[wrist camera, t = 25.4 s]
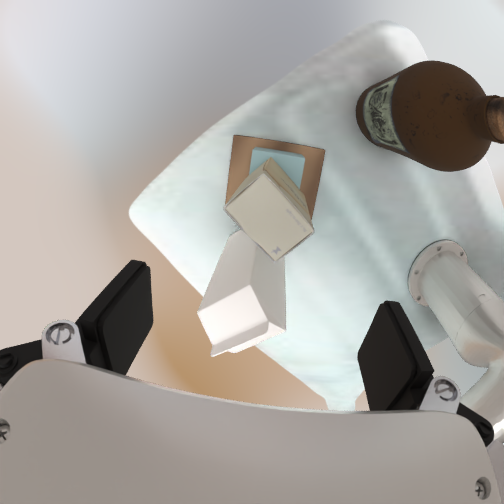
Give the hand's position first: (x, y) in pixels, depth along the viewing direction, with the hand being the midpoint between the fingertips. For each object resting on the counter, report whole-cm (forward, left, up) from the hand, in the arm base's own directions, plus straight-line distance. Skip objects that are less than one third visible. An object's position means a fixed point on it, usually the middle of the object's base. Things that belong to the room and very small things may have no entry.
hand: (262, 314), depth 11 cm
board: (0, 0, -30) cm, 30 cm away
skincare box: (0, 0, -24) cm, 24 cm away
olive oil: (-14, -12, -31) cm, 36 cm away
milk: (+1, +10, -31) cm, 32 cm away
